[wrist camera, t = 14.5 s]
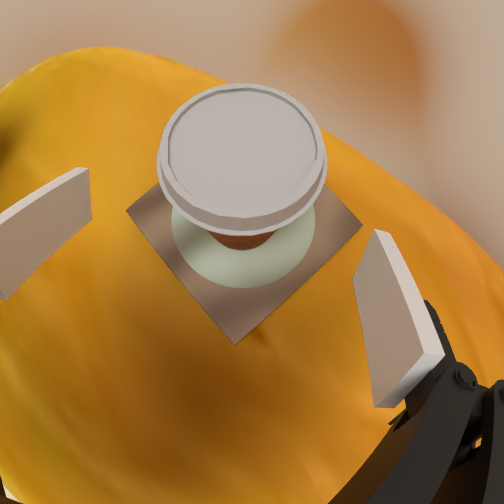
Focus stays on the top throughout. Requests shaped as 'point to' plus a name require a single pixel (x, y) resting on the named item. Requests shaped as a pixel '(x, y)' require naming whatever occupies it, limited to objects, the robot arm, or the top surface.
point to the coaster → (244, 258)
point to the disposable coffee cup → (241, 162)
